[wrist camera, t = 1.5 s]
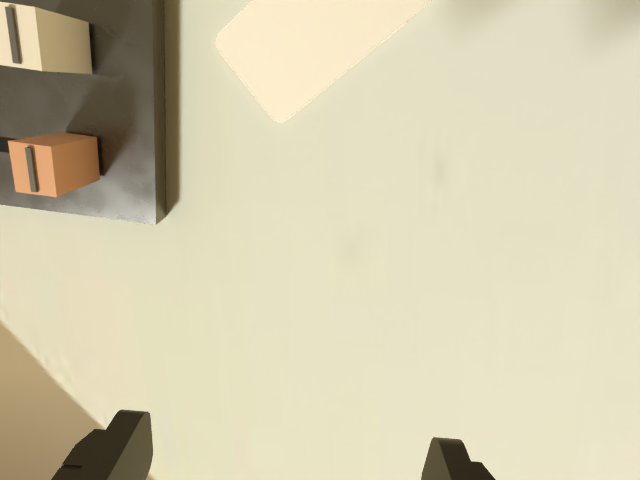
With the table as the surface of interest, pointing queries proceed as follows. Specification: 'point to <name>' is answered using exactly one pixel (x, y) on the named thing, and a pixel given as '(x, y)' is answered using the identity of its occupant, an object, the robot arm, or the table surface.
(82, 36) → the fader
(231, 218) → the table surface
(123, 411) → the robot arm
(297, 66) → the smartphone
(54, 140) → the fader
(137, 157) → the console
